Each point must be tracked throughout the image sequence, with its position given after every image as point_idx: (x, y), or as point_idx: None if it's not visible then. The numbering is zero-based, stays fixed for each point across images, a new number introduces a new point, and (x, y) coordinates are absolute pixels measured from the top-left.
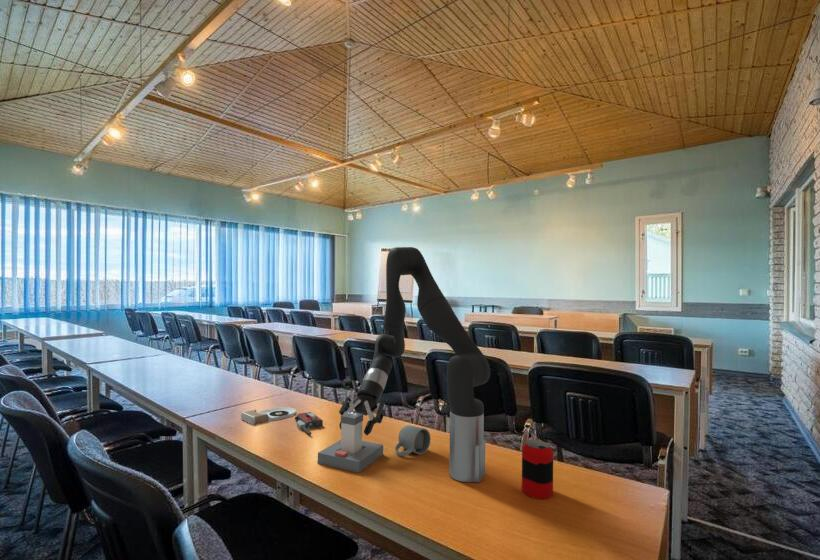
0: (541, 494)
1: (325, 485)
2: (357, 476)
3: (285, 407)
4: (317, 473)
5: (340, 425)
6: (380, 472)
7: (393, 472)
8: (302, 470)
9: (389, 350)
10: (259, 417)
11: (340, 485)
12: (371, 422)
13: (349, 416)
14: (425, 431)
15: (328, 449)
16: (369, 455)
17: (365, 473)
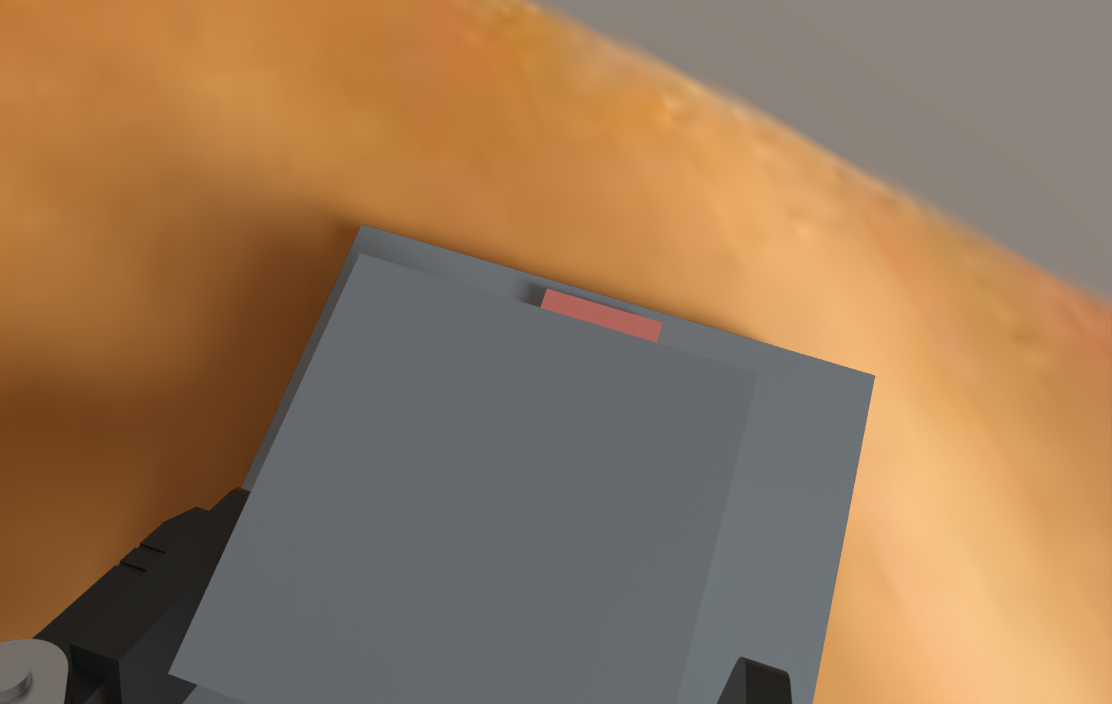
0: None
1: (599, 54)
2: (387, 212)
3: None
4: (740, 215)
5: (784, 688)
6: (193, 309)
7: (72, 326)
8: (894, 248)
9: None
10: None
11: (489, 68)
12: (56, 636)
13: (522, 375)
14: None
15: (797, 489)
16: (277, 419)
17: (327, 272)
